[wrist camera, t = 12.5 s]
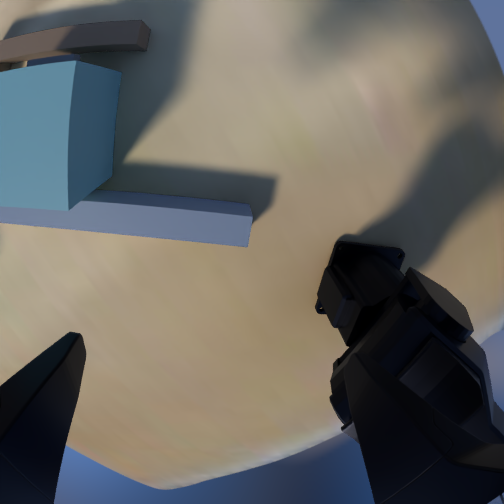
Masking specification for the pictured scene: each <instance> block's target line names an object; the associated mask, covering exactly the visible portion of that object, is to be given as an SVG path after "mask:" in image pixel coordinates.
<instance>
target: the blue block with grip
mask: <svg viewBox="0 0 504 504" xmlns="http://www.w3.org/2000/svg"><path fill="white" fill-rule="evenodd" d="M121 75H122V72H119V71H115V70H112V69H108V68H104V67H101V66H97V65H93V64H89V63H85V62H81V61H80V55H77V54H68V55H59V56H52V57H45V58H39V59H33V60H28V61H27V67H24V68H18V69H13V70H8V71H4V72H0V206H2V207H18V208H33V209H47V210H61V211H69V210H71V209H72V208H73V207H74V206H75V205H76V204H78V203H79V202H80V201H81V200H82V199H84V198H85V197H86V196H87V195H89V194H90V193H91V192H92V191H94V190H95V189H96V188H97V187H99V186H100V185H101V184H102V183H104V182H105V181H106V180H108V179H109V178H110V177H112V171H113V151H114V137H115V125H116V114H117V105H118V97H119V89H120V82H121Z"/></svg>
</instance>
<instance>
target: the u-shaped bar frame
mask: <svg viewBox="0 0 504 504" xmlns="http://www.w3.org/2000/svg"><path fill="white" fill-rule="evenodd" d="M149 35H150V28H149V27H148V26H147V25H146V24H145V23H144V22H143V21H142V20H131V21H111V22H99V23H89V24H80V25H73V26H66V27H59V28H54V29H48V30H43V31H38V32H33V33H29V34H24V35H20V36H16V37H12V38H9V39H5V40H1V41H0V72H4V71H8V70H10V67H11V64H12V63H17V62H22V61H27V60H33V59H39V58H45V57H52V56H59V55H68V54H78V53H90V52H106V51H147V45H148V40H149ZM252 220H253V216H252V212H251V209H250V206H249V204H245V203H236V202H228V201H219V200H210V199H201V198H191V197H181V196H171V195H160V194H148V193H137V192H124V191H110V190H94V191H92V192H91V193H90V194H89V195H87V196H86V197H85V198H84V199H82V200H81V201H80V202H79V203H78V204H76V205H75V206H74V207H73V208H72V209H71V210H69V211H61V210H47V209H33V208H18V207H2V206H0V223H9V224H19V225H30V226H40V227H51V228H61V229H71V230H82V231H92V232H102V233H112V234H122V235H132V236H142V237H152V238H162V239H172V240H182V241H192V242H202V243H212V244H221V245H231V246H241V247H248V242H249V237H250V231H251V225H252Z"/></svg>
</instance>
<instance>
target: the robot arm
mask: <svg viewBox="0 0 504 504" xmlns="http://www.w3.org/2000/svg"><path fill="white" fill-rule="evenodd" d="M341 246H343V248H342V249H341V250H339V247H341ZM398 254H400V255H399V256H398ZM397 256H398V257H397ZM404 257H405V253H404V251H403V250H402V249H400V248H393V247H385V246H378V245H371V244H363V243H355V242H348V241H338V242H336V243H335V245H334V248H333V251H332V255H331V258H330V261H329V265H328V266H327V267H326V268H325V270H324V274H323V277H322V280H321V283H320V287H319V290H318V293H317V295H318V299H317V302H316V305H315V309H316V311H317V313H318V314H327V316H328V319H329V321H330V323H331V325H332V326H333V327H334V328H338V330H339V332H340V334H341V336H342V338H343V340H344V342H345V344H346V346H348V347H349V348H348V349H347V350H346V352H345V353H344V354H343V355H342V356H341V357H340V358H338V359H337V360H336V361H335V362H334V363H333V373H332V377H331V380H330V383H331V390H332V395H331V396H330V397H329V398H330V402H331V404H332V406H333V409H334V411H335V412H336V414H337V416H338V418H339V419H340V420H341V421H342V423H343V424H344V425H343V426H342V427H341V430H342V431H343V432H344V433H346V434H347V435H349V436H350V437H352V438H353V439H355V440H356V441H357V442H358V443H359V444H360V447H361V451H362V455H363V458H364V462H365V466H366V470H367V474H368V478H369V482H370V486H371V489H372V494H373V498H374V502H375V504H504V412H503V411H502V409H501V408H500V407H499V406H498V405H497V404H496V402H494V399H493V393H492V386H491V380H490V375H489V369H488V364H487V359H486V354H485V352H484V350H483V349H482V348H481V347H480V346H479V345H478V344H477V342H476V341H475V340H474V339H473V338H472V337H471V336H470V335H471V334H472V332H473V331H474V329H473V326H472V323H471V320H470V318H469V315H468V312H467V309H466V307H465V306H464V305H463V304H462V303H461V302H460V301H459V300H457V299H456V298H455V297H454V296H453V295H452V294H451V293H450V292H449V291H448V290H447V289H445V288H444V287H442V286H441V285H439V284H438V283H436V282H434V281H433V280H431V279H430V278H428V277H426V276H425V275H423V274H421V273H420V272H418V271H416V270H415V269H413V268H411V267H409V269H408V270H407V271H406V273H405V274H406V276H405V275H404V274H403V273H402V272H401V271H400V267H401V265H402V262H403V259H404ZM321 307H323V308H322V309H320V308H321ZM85 361H86V349H85V345H84V341H83V337H82V335H81V334H80V333H75V332H69V333H67V334H66V335H65V336H63V337H62V338H61V339H59V340H58V341H57V342H55V343H54V344H53V345H51V346H50V347H49V348H48V349H46V350H45V351H44V352H42V353H41V354H40V355H38V356H37V357H36V358H35V359H33V360H32V361H31V362H30V363H28V364H27V365H26V366H24V367H23V368H22V369H21V370H19V371H18V372H17V373H16V374H14V375H13V376H12V377H11V378H9V379H8V380H7V381H6V382H5V383H3V384H2V385H1V386H0V504H54V503H53V502H54V499H55V493H56V487H57V482H58V477H59V472H60V467H61V463H62V458H63V454H64V449H65V445H66V441H67V437H68V433H69V429H70V426H71V422H72V418H73V415H74V411H75V408H76V404H77V401H78V397H79V392H80V386H81V381H82V375H83V370H84V365H85Z"/></svg>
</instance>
